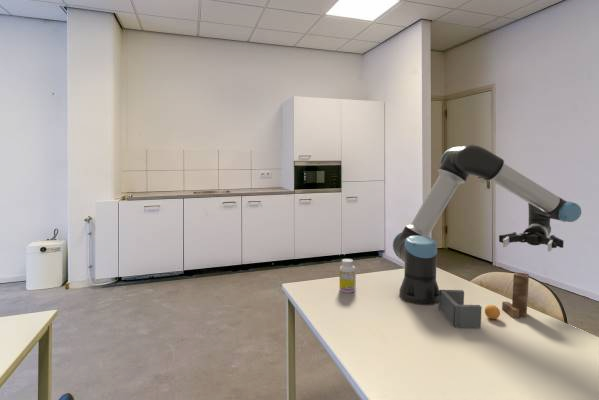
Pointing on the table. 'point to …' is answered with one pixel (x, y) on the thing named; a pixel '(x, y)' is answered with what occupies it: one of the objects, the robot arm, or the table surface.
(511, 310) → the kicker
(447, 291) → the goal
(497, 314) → the ball
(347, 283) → the supplement bottle
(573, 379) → the table surface
